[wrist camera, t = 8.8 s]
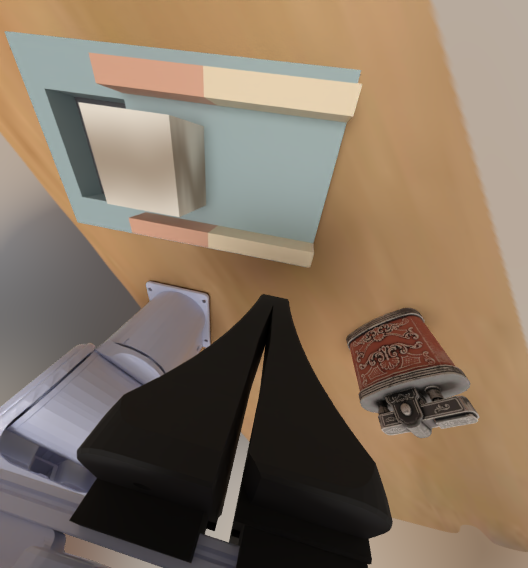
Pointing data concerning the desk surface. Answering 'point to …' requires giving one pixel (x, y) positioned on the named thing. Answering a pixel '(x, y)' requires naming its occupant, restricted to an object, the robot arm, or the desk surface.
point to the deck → (217, 136)
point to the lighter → (408, 376)
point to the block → (147, 159)
